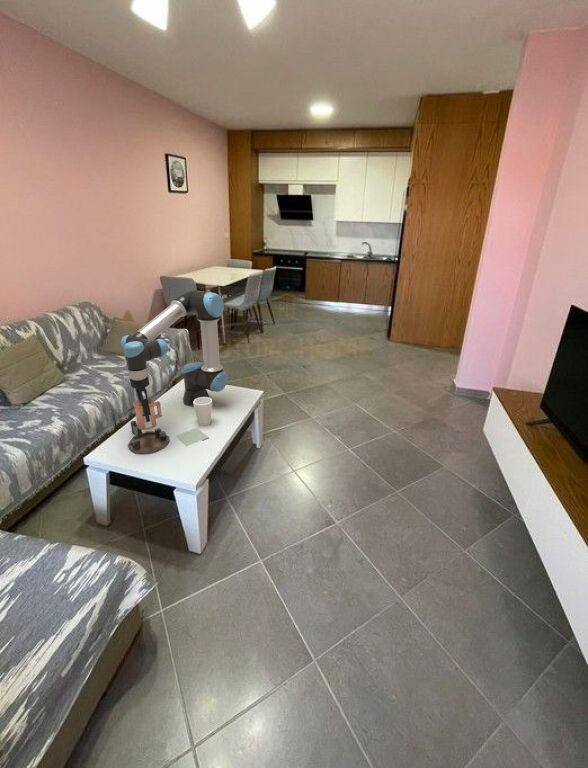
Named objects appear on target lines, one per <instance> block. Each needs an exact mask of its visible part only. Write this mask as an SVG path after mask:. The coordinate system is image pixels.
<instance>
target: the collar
mask: <svg viewBox="0 0 588 768" xmlns="http://www.w3.org/2000/svg"><path fill="white" fill-rule="evenodd" d="M130 428H131V433H132V434H134V436H132V438H131V439H130V441H129V442H128V444H127V448H128V449H129V448H130V449H131V450H132V451H133V452H134V453H133V454H135V453H152V454H154V453H153V452H155V451H158V450H160V449H162V448H164V447H165V448H167V446H168V445H167V443H168V441H169V442H170V435H167V433H166V431H165V430H163V431H162V428H160V427H158V428H155V429H154V430H152V431H151V430H147V431H144V432H143V430H141V429H139V428H138V424H137V420H132V421H130ZM148 434H155V437H156V438H158V437H160V441H164V440H165V442H164V444H163V445H161V446H158V447H156V448H154V449H151V450H137V449H139V448H141V445H140V440H138V439H137V438H140V437H142V436H145V435H148ZM131 445H132V446H131ZM166 445H167V446H166ZM165 448H164V449H165ZM162 450H163V449H162ZM158 452H159V451H158Z"/></svg>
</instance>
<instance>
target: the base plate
mask: <svg viewBox="0 0 588 768" xmlns="http://www.w3.org/2000/svg"><path fill="white" fill-rule="evenodd" d="M137 439H138V440H140V445H141V448H139V449H137V450H151V449H154V448H156V447H158V446H161V445H163V444H164V442H165V440H164V441H160V437H158V438H156V437H155V434H148V435H145V436H142V437H140V438H137ZM169 444H170V440H169V441H168V443H167V445H166V447H168V445H169ZM131 446H132V445H131ZM166 447H164V448H162V449H160V450H158V451H155V452H153V453H134V452H133V451H132V450H131V449H130V448H128V450H129V451H130V452H131V453H133V454H136V455H143V456H144V455H152V454H156V453H159V452H160V451H163V450H164V449H165V448H166Z"/></svg>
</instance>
